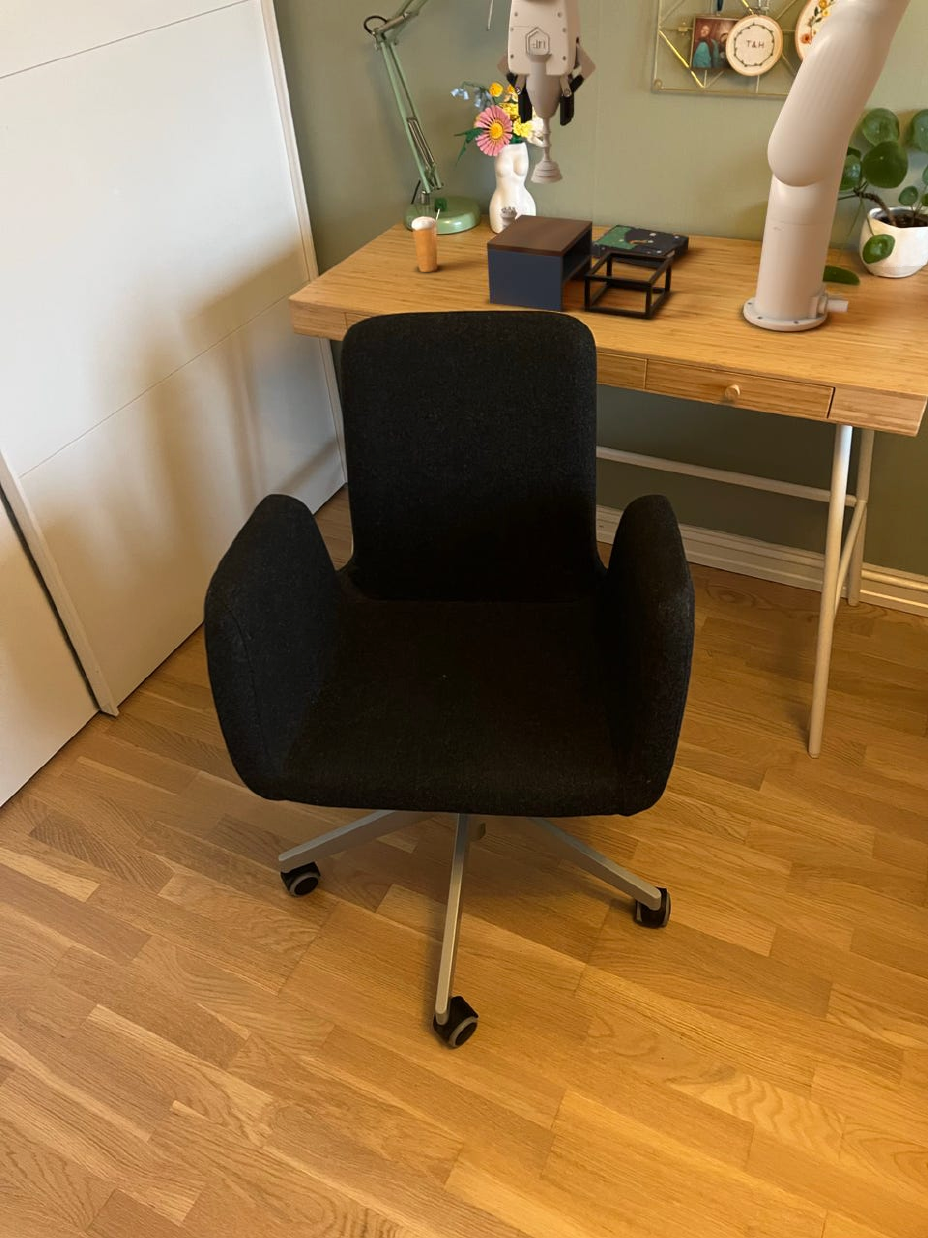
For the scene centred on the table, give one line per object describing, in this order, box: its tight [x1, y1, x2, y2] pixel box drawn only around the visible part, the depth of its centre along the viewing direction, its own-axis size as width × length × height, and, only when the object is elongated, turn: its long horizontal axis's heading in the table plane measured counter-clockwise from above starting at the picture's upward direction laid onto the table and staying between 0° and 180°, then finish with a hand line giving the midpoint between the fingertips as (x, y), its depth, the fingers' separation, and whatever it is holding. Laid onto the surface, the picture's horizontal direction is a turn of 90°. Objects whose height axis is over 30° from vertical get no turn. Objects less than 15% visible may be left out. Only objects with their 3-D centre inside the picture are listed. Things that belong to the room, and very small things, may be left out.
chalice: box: [525, 53, 563, 184], centre depth 147 cm, size 7×7×18 cm
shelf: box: [486, 214, 593, 313], centre depth 162 cm, size 13×14×10 cm
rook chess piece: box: [499, 205, 518, 231], centre depth 177 cm, size 4×4×8 cm
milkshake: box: [411, 209, 441, 273], centre depth 173 cm, size 4×5×10 cm
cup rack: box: [583, 251, 674, 320], centre depth 157 cm, size 11×11×6 cm
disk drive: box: [592, 224, 690, 269], centre depth 174 cm, size 10×3×15 cm
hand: (546, 120), depth 147 cm, fingers closed on chalice, 5 cm apart
